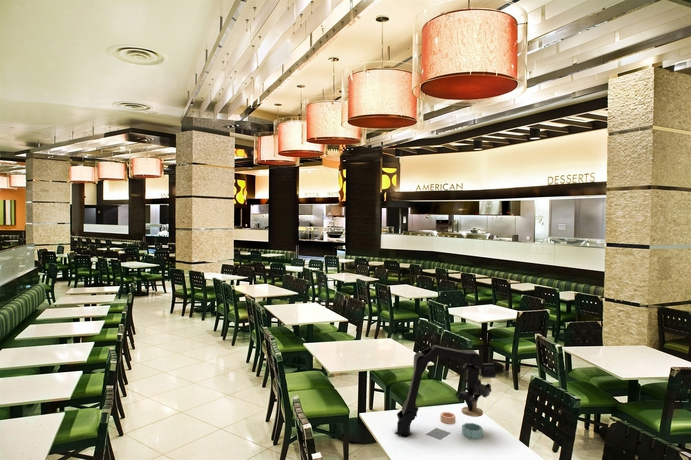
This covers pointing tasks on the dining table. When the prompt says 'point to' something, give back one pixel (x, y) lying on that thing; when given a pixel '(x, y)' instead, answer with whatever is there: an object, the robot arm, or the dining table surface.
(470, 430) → the bowl
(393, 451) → the dining table surface
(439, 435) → the mat
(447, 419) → the small bowl
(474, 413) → the lid
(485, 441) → the dining table surface
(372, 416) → the dining table surface
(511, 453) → the dining table surface
